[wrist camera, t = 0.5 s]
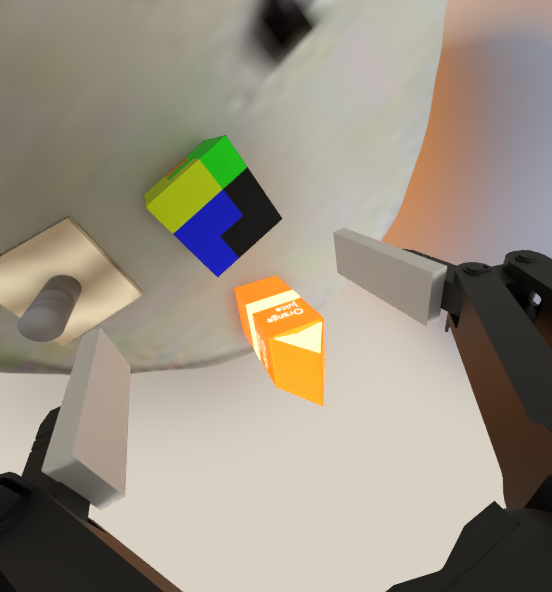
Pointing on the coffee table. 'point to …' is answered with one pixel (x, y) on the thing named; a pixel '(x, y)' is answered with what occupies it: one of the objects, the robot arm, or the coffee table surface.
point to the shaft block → (62, 284)
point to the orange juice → (285, 336)
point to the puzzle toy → (213, 204)
